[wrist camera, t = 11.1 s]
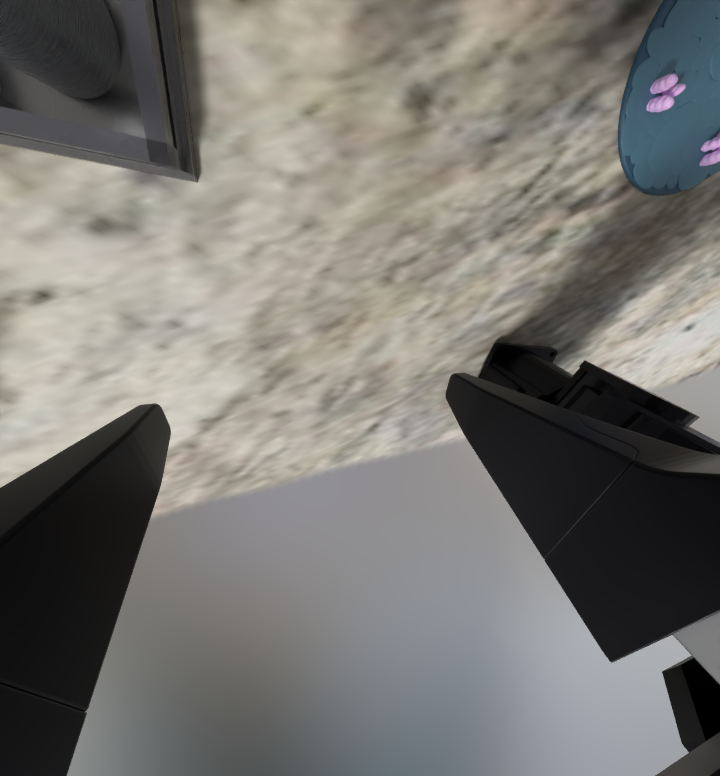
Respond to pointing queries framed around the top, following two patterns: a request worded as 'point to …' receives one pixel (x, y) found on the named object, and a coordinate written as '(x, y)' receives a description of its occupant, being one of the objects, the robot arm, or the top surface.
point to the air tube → (61, 44)
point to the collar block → (113, 102)
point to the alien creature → (673, 100)
